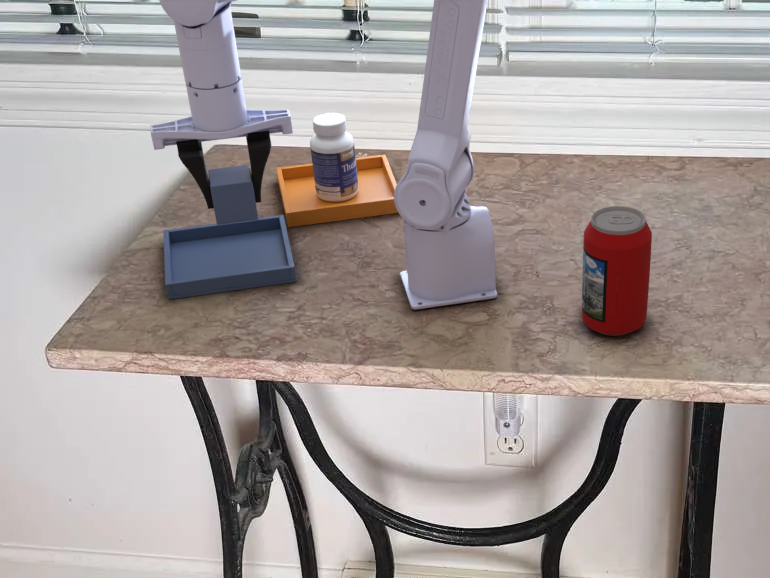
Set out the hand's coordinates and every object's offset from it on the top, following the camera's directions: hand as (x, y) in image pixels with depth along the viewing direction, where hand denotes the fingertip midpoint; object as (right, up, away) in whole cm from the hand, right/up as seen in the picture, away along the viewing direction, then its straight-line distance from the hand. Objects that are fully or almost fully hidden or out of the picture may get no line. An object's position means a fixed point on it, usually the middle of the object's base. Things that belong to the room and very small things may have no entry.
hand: (234, 201), depth 130 cm
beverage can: (+41, -14, -6) cm, 44 cm away
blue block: (0, -1, +1) cm, 1 cm away
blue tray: (-2, -5, +7) cm, 9 cm away
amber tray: (+9, +5, +19) cm, 22 cm away
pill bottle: (+9, +5, +19) cm, 22 cm away
